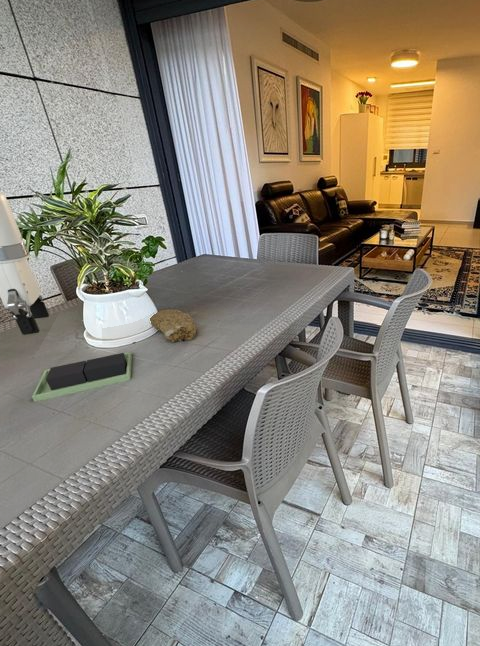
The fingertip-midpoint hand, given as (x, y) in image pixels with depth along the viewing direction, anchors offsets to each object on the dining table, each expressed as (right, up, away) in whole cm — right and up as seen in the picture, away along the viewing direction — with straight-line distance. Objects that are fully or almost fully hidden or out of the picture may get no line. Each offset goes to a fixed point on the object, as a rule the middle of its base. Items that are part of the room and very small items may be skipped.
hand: (36, 325), depth 84 cm
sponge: (+19, -1, +34) cm, 39 cm away
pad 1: (+2, -14, +9) cm, 17 cm away
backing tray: (+5, -14, +11) cm, 18 cm away
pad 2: (+10, -12, +12) cm, 20 cm away
